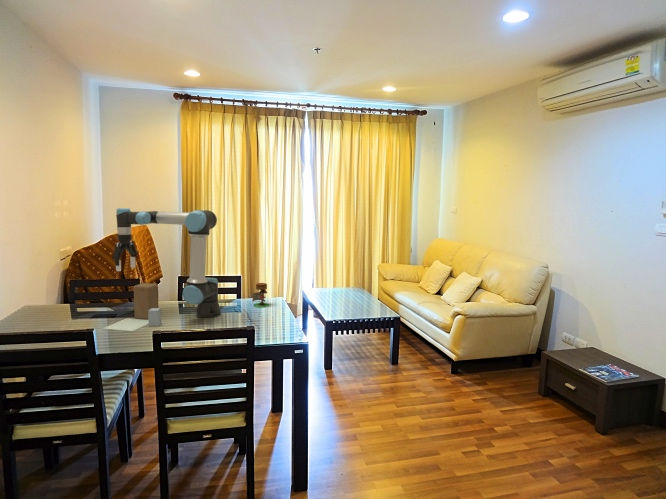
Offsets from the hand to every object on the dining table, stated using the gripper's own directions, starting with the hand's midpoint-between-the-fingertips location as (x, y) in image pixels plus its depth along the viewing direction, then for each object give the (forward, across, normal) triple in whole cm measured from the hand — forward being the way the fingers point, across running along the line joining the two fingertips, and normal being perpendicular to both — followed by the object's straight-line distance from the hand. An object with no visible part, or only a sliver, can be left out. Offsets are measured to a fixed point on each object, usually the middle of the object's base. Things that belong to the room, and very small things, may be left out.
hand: (126, 269), depth 252 cm
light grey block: (+28, +15, +27) cm, 42 cm away
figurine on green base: (+29, -41, +71) cm, 87 cm away
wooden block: (+28, +3, +14) cm, 32 cm away
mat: (+28, +19, +14) cm, 37 cm away
